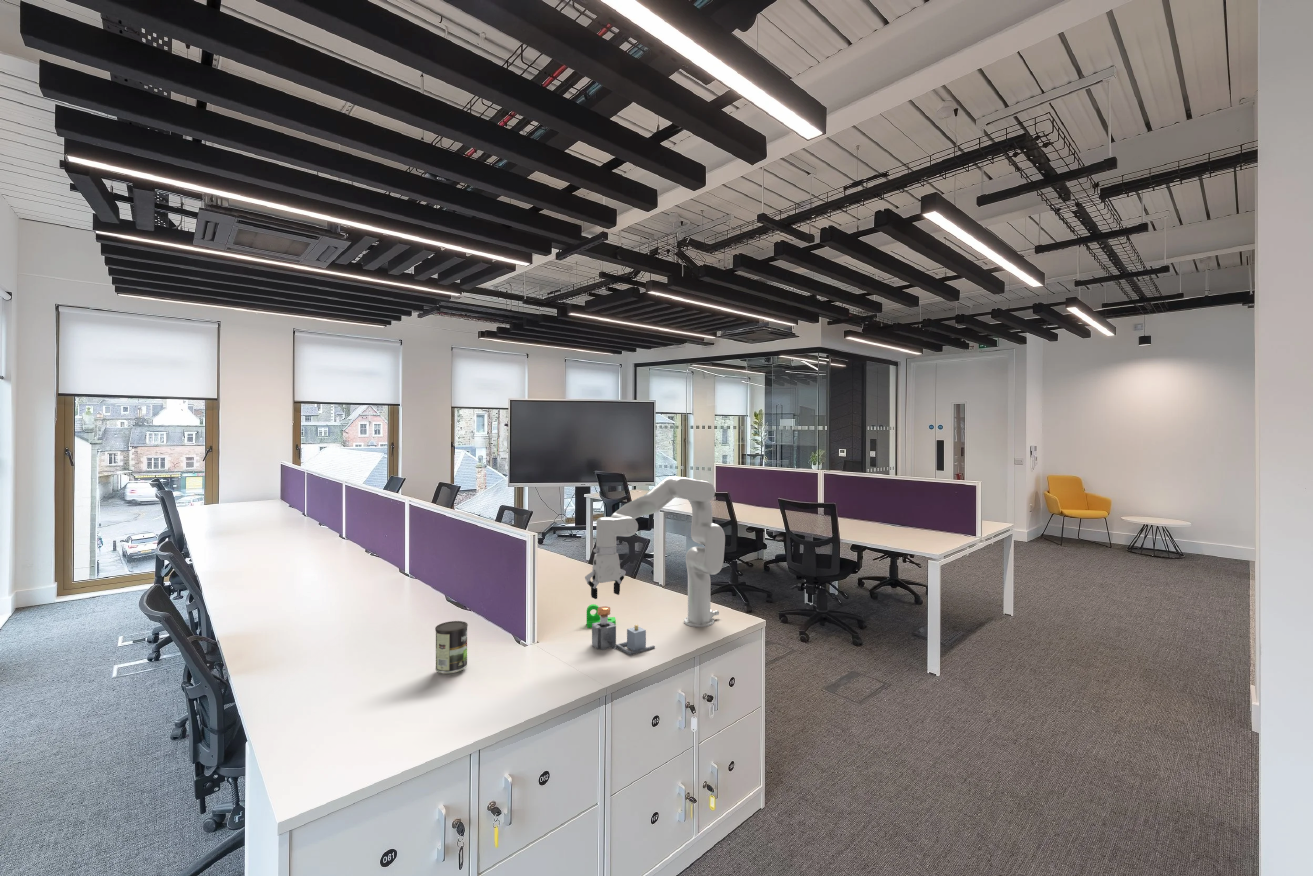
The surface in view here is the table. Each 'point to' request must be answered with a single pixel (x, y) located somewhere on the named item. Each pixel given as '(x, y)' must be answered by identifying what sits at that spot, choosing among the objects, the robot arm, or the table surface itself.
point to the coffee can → (451, 646)
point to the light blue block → (636, 638)
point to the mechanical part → (595, 616)
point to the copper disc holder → (603, 636)
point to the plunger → (604, 615)
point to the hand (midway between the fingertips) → (605, 596)
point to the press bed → (621, 647)
